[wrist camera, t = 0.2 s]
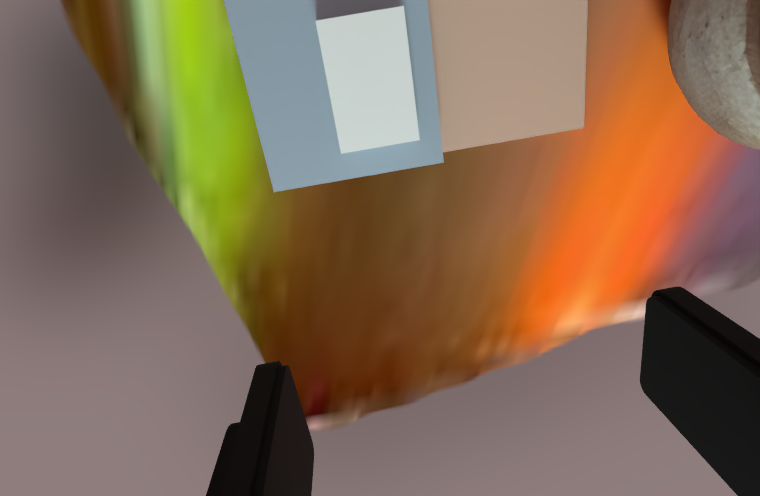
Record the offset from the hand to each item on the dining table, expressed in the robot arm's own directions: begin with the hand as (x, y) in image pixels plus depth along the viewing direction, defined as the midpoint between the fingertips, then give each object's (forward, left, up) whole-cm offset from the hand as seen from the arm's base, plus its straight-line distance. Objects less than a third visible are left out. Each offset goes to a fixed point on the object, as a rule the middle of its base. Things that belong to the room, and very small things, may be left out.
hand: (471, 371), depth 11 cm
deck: (-6, -2, -30) cm, 31 cm away
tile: (-6, 0, -26) cm, 27 cm away
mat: (-6, +12, -30) cm, 33 cm away
